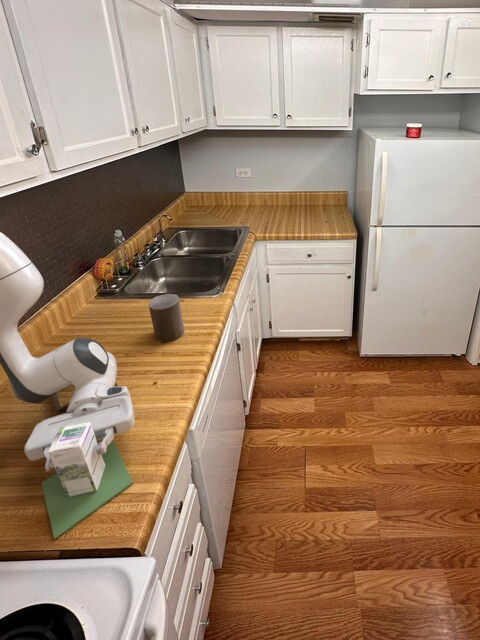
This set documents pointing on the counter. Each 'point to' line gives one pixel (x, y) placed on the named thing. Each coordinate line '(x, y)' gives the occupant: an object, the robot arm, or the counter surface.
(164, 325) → the pillar candle
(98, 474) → the syrup box
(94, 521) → the counter surface
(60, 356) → the robot arm
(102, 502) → the green mat
